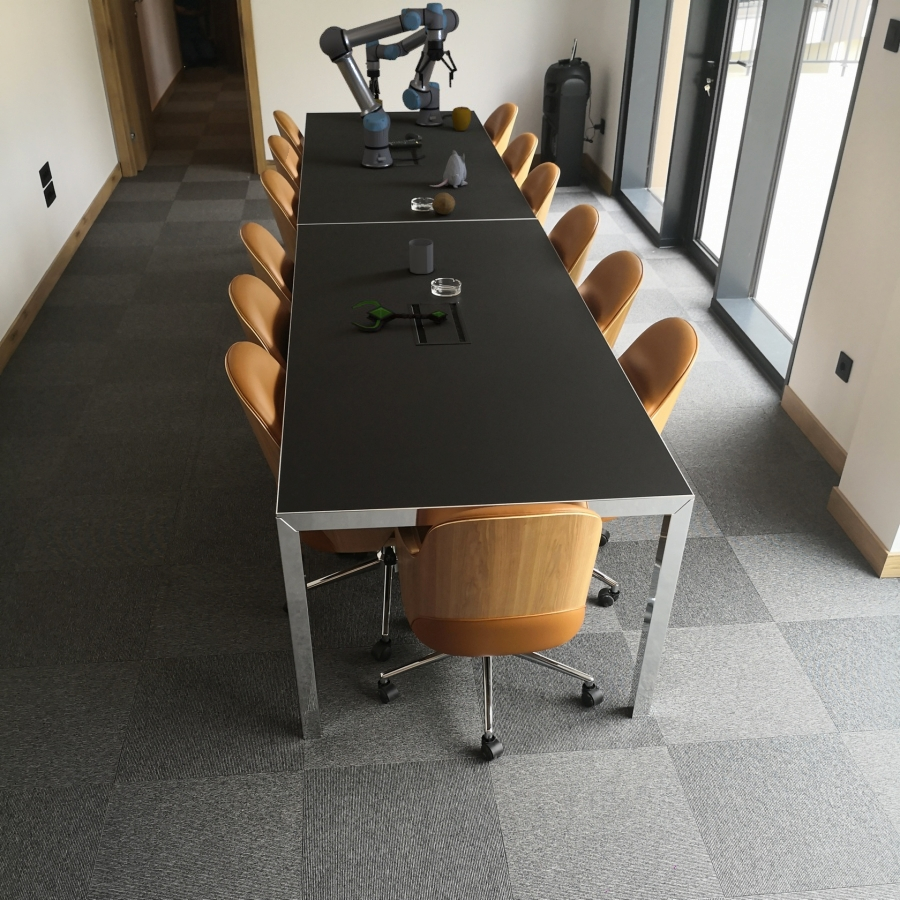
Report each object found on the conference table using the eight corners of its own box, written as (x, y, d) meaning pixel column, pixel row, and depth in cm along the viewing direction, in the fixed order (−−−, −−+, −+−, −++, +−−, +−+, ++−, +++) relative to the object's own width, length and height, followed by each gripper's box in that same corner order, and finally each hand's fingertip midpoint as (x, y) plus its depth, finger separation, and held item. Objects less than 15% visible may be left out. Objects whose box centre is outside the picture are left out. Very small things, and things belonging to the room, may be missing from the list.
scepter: (447, 295, 270) (351, 293, 268) (448, 326, 263) (349, 324, 261) (446, 308, 275) (351, 306, 273) (447, 339, 268) (350, 337, 266)
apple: (471, 132, 486) (471, 108, 479) (451, 132, 486) (451, 108, 479) (470, 128, 495) (471, 104, 488) (452, 128, 495) (452, 104, 488)
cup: (409, 265, 311) (408, 238, 306) (432, 265, 312) (431, 238, 307) (410, 274, 304) (409, 246, 299) (433, 273, 305) (433, 246, 299)
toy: (472, 184, 399) (472, 151, 391) (436, 195, 384) (436, 161, 376) (457, 180, 404) (458, 147, 396) (422, 191, 389) (421, 157, 381)
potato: (453, 208, 369) (453, 189, 365) (456, 218, 357) (456, 199, 353) (431, 208, 368) (430, 189, 364) (432, 218, 356) (432, 199, 352)
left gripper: (460, 37, 414) (461, 85, 425) (408, 39, 412) (410, 87, 423) (462, 39, 407) (462, 88, 419) (409, 41, 405) (411, 89, 417)
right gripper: (371, 65, 503) (372, 103, 515) (362, 72, 483) (363, 112, 494) (383, 65, 503) (385, 104, 514) (375, 73, 482) (376, 113, 493)
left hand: (436, 87), depth 421 cm, fingers open, 13 cm apart
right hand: (374, 108), depth 504 cm, fingers open, 13 cm apart
